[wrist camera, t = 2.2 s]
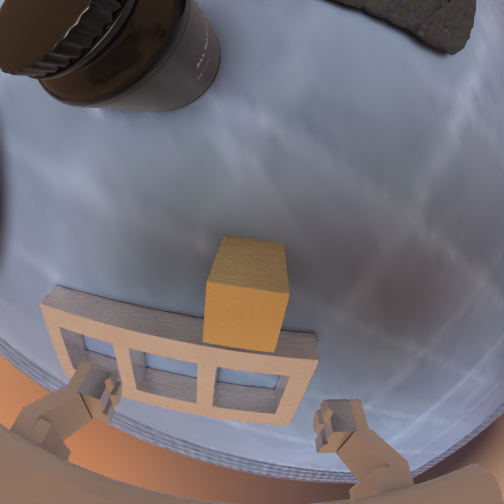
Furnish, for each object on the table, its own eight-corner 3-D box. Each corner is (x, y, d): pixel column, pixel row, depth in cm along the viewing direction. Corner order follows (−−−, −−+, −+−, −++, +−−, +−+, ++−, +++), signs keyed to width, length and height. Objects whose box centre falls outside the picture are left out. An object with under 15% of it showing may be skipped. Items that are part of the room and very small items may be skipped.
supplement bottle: (243, 71, 15) (201, -22, 4) (151, 133, 16) (5, 164, 5) (187, -2, 12) (101, -106, 1) (104, 59, 14) (-37, 35, 3)
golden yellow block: (283, 244, 19) (290, 294, 14) (272, 294, 21) (274, 352, 15) (223, 234, 19) (206, 281, 14) (217, 285, 21) (202, 342, 15)
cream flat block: (314, 333, 22) (319, 360, 19) (287, 401, 26) (288, 425, 23) (57, 285, 22) (39, 303, 19) (77, 358, 26) (66, 376, 23)
